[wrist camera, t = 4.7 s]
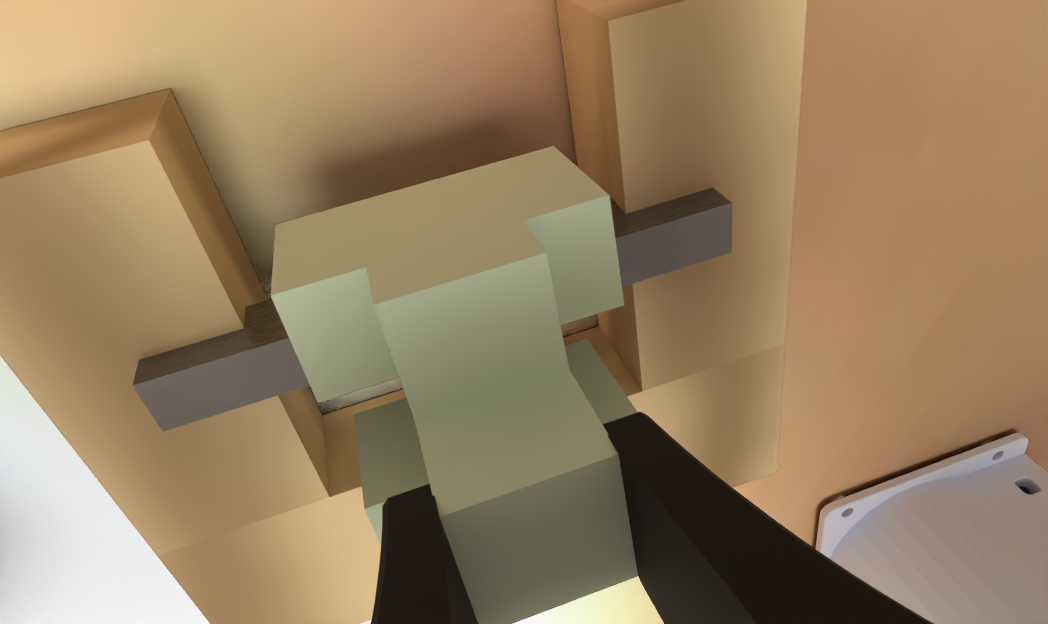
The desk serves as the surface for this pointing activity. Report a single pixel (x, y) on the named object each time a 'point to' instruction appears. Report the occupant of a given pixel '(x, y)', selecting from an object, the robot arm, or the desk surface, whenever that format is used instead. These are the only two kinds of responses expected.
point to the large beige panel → (330, 440)
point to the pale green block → (476, 367)
